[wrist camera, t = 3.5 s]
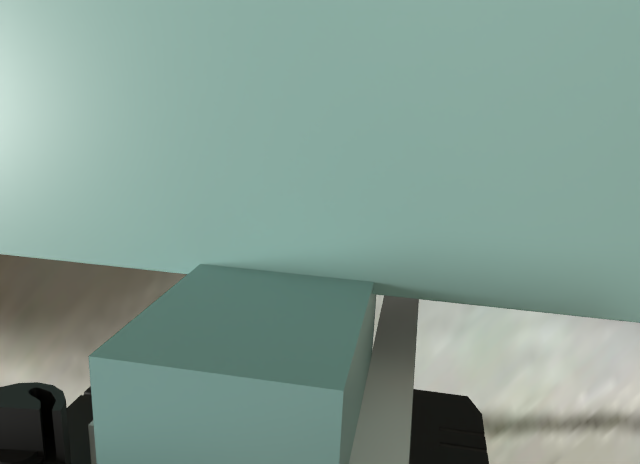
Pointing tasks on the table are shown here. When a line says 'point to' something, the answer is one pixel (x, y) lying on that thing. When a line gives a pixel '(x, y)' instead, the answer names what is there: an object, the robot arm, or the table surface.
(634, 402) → the table surface
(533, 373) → the table surface
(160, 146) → the lid
